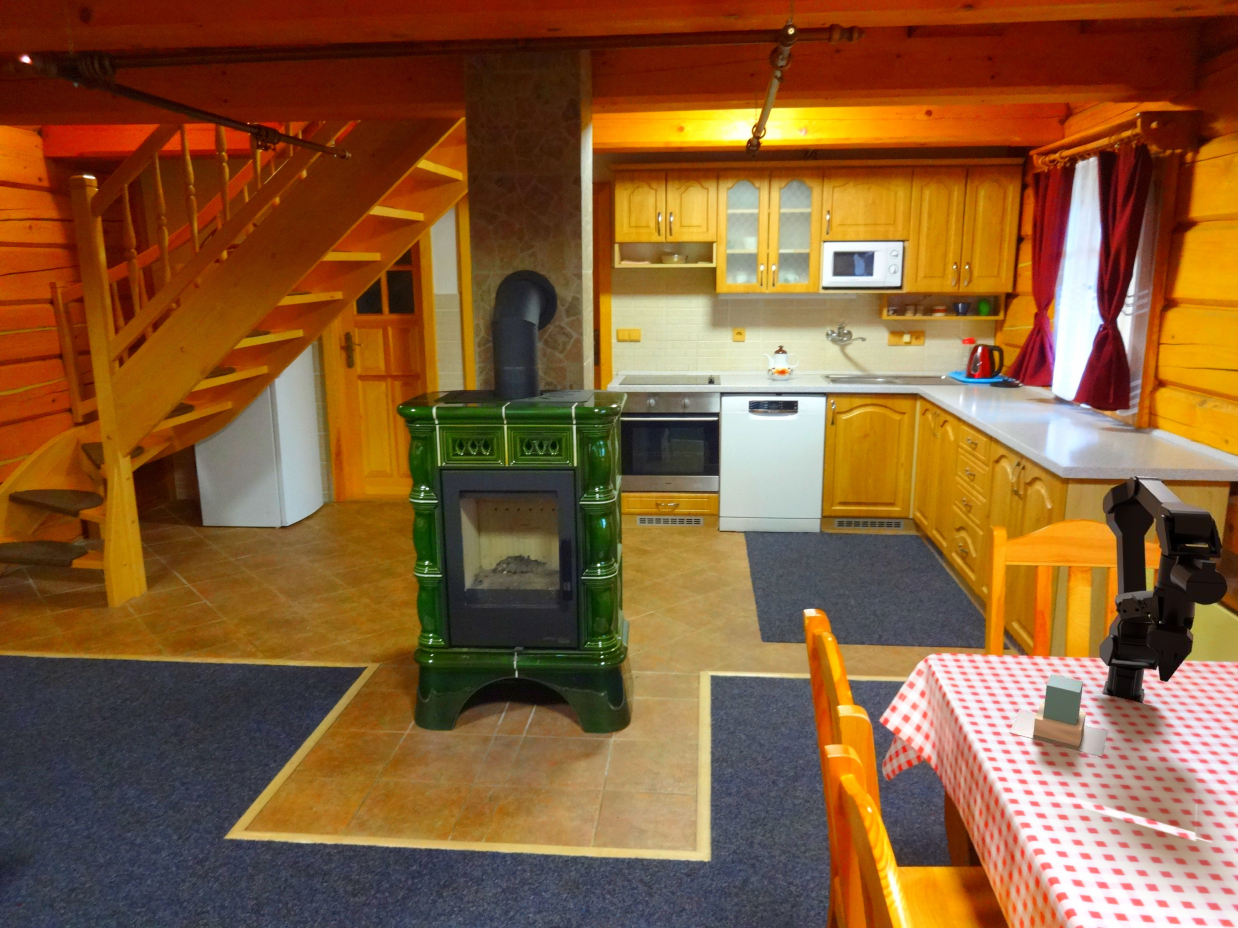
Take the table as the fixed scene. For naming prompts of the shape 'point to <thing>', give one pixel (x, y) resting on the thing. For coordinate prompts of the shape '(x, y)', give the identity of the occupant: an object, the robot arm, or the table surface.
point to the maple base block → (1059, 728)
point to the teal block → (1063, 699)
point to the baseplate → (1089, 742)
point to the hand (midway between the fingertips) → (1164, 670)
